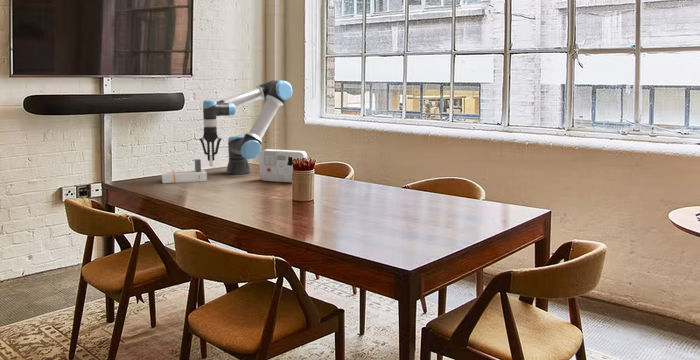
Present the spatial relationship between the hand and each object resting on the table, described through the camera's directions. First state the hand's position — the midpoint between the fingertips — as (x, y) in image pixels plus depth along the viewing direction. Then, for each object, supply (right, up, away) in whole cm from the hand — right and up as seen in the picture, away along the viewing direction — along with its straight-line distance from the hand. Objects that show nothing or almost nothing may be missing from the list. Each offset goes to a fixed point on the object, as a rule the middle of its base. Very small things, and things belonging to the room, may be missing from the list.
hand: (211, 166), depth 395 cm
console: (-15, -9, -4) cm, 18 cm away
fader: (-7, -8, -1) cm, 11 cm away
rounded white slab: (+44, -9, -5) cm, 45 cm away
